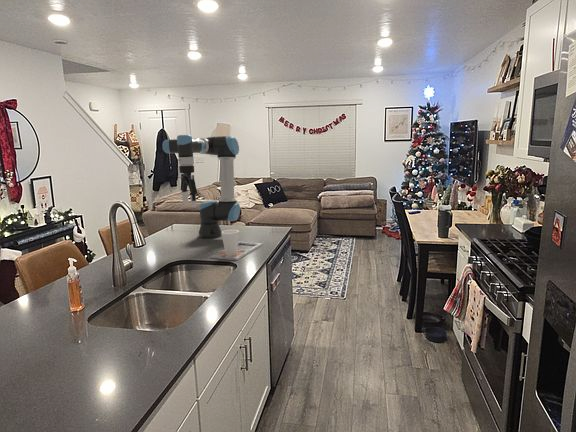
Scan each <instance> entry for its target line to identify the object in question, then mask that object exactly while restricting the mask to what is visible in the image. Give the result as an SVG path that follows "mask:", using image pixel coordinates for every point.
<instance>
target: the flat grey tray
mask: <svg viewBox="0 0 576 432" xmlns="http://www.w3.org/2000/svg"><path fill="white" fill-rule="evenodd" d="M239 244H240V245H242V244H245V246H252V247H251V248H249V249H247V248H246V249H245V248H238V252H237V255H235V256H226V254H225V249H224V248H223V249H221V250H220V251H218V252H216V253H214V254H212V255H210V258H211V259H216V260H217V259H218V260H229V261H239V260H241V259H242V258H244V257H246V256H247V255H249V254H251V253H253V251H255V250H257V249H259V248H260V247H262V246H263V243H262V242H261V243H260V242H252V241H239V240H238V246H239ZM254 245H255V246H254Z"/></svg>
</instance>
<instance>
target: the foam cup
mask: <svg viewBox="0 0 576 432" xmlns="http://www.w3.org/2000/svg"><path fill="white" fill-rule="evenodd" d="M221 231H222V232H221V234H222V235H221V237H222V243H223V247H224V248H223V249H225V254H226V256H235V255H237V252H238V249H239V245H238V242H239V239H240V238H239V236H240V230H238V229H226V230H221Z"/></svg>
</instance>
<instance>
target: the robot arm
mask: <svg viewBox="0 0 576 432" xmlns="http://www.w3.org/2000/svg"><path fill="white" fill-rule="evenodd" d="M162 151H163V152H164V153H166V154H170V155H171V154H177V155H178V157H177V158H178V159H177V161H178V165H179V166H178V169H179V173H180V191H181V195H182V203H183V205H187V204H189V198H190V208H197V205H198V204H197V194H198V189H197V185H196V180H195V175H194V174H192V173H195V166H194V164H195V162H194V161H195V160H194V154H200V155H210V156H211V155H212V156H217V159H218V160H219V173H220V174H219V175H220V177H219V178H220V198H219V199H218V200H215V199H213V200H207V201H203V202H200V204H199V219H200V220H199V221H200V227H199V230H198V237H199V238H201V239H216V238H219V237H222V234H221V232H222V231H223V230H222V229H221V226H220V223H219V222H236V221H237V220H238V218H239V217H240V213H241V205H240V203H238V202H237V201H238V200H237V199H236V197H235V174H234V173H235V172H234V171H235V170H234V168H235V167H234V165H235V163H234V161H235V159H236V158H237V156H238V155H239V152H240V146H239V142H238V140H237V138H236V137H235V136H231V135H225V136H224V135H223V136H222V135H221V136H208V137H203V138H202V137H201V138H193V136H192V135H191V134H178V135H177V137H176V139H169V138H168V139H164V141H162ZM188 192H189V196H190V197H189V196H188Z"/></svg>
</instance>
